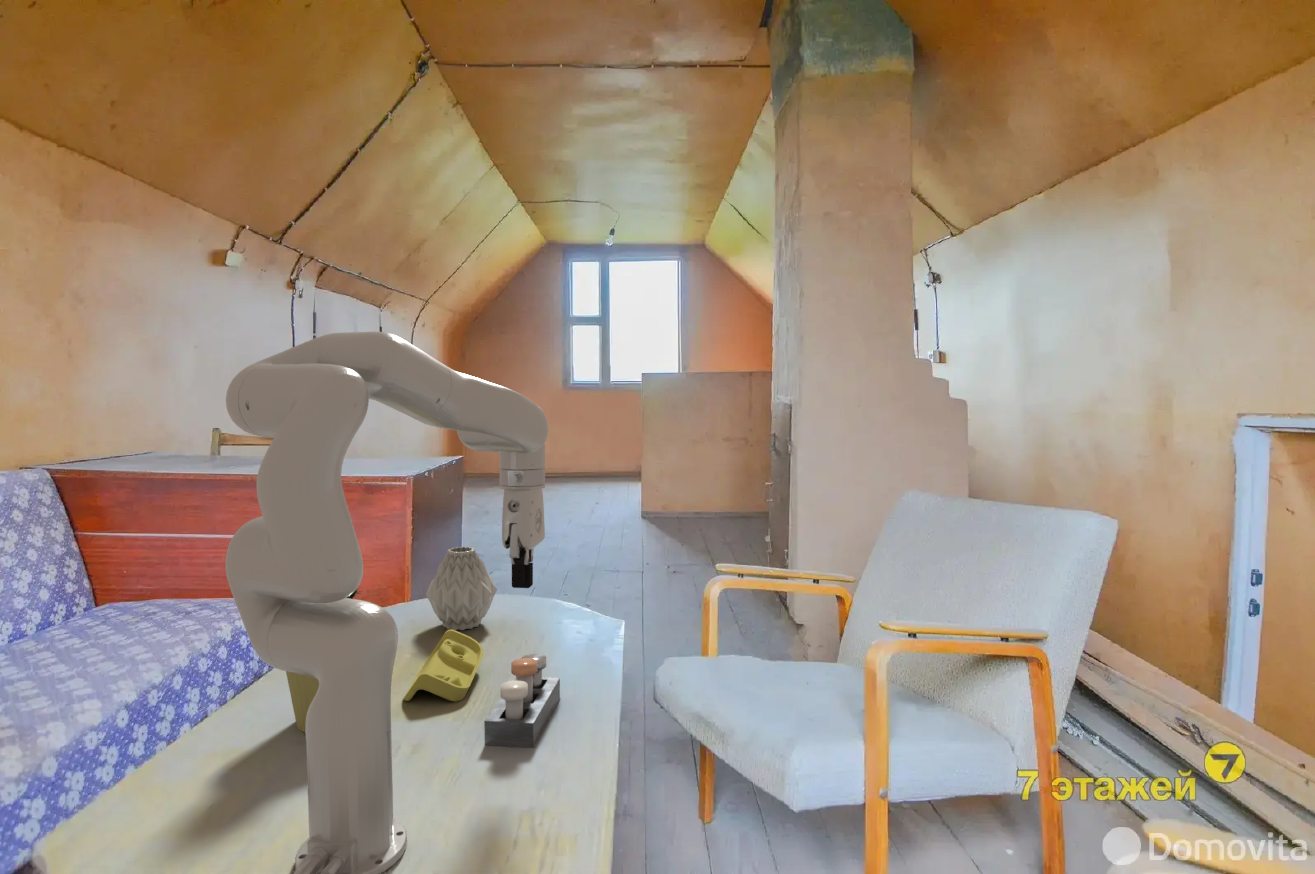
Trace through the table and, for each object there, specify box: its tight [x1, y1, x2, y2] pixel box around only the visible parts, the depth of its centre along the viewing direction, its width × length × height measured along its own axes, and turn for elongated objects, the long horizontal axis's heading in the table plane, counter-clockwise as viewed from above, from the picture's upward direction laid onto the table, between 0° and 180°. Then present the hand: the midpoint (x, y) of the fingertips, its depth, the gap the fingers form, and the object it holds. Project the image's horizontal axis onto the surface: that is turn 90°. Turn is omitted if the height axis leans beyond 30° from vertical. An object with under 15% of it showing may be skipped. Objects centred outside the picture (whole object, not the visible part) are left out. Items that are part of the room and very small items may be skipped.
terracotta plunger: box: [510, 657, 537, 704], centre depth 124 cm, size 4×4×8 cm
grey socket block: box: [483, 676, 561, 749], centre depth 124 cm, size 18×8×4 cm, turn 174°
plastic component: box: [402, 629, 484, 702], centre depth 141 cm, size 20×7×10 cm
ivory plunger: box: [499, 679, 528, 720], centre depth 118 cm, size 4×4×8 cm
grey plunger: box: [521, 653, 547, 689], centre depth 130 cm, size 4×4×8 cm
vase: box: [425, 546, 498, 631], centre depth 173 cm, size 16×16×18 cm
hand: (522, 586), depth 123 cm, fingers closed
